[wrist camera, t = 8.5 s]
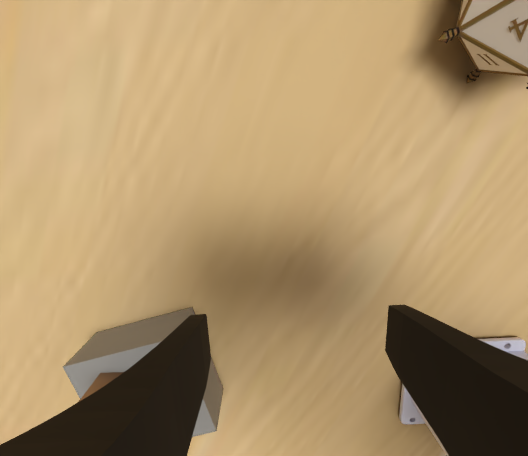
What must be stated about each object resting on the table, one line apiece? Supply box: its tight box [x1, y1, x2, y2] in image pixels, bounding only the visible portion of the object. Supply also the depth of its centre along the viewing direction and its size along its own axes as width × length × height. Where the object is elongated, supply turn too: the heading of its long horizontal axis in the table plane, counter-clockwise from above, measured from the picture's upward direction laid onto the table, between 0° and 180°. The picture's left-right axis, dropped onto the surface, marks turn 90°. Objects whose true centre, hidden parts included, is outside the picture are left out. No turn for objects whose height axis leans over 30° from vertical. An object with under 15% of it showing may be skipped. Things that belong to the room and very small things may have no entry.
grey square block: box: [63, 307, 223, 437], centre depth 20 cm, size 8×8×4 cm
